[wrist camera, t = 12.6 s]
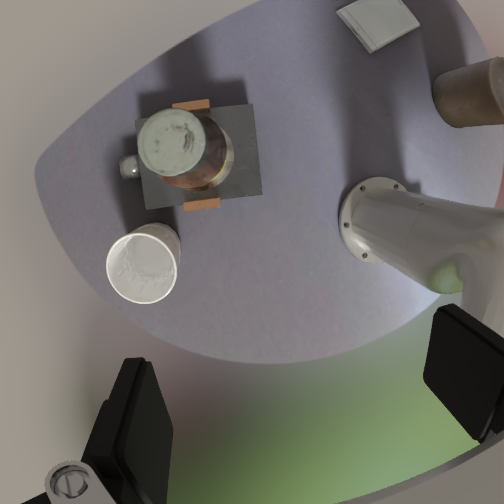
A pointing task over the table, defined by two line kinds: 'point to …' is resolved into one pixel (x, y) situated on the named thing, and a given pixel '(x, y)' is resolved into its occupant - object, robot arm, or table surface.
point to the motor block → (226, 183)
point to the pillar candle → (471, 94)
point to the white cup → (145, 263)
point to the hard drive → (378, 21)
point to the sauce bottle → (182, 147)
